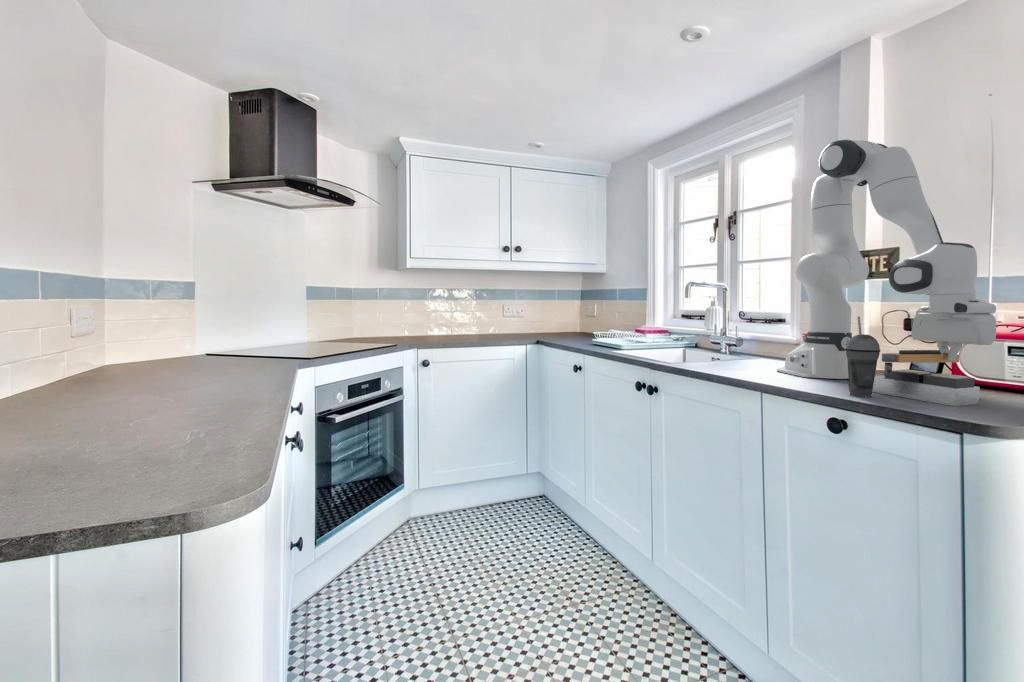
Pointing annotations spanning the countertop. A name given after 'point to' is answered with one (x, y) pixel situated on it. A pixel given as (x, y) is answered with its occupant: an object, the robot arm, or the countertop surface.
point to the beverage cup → (862, 363)
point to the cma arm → (915, 356)
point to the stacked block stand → (927, 386)
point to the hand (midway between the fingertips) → (948, 360)
